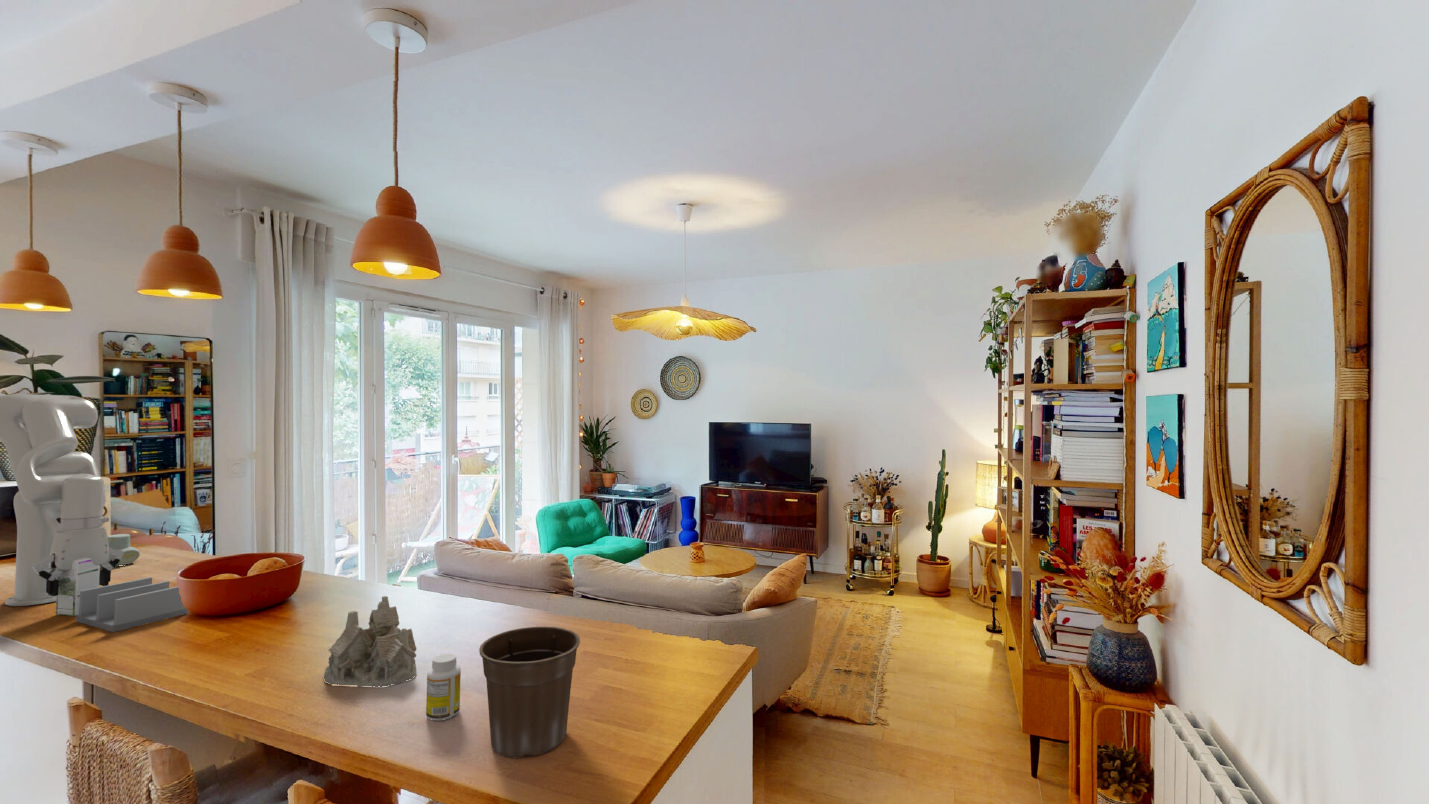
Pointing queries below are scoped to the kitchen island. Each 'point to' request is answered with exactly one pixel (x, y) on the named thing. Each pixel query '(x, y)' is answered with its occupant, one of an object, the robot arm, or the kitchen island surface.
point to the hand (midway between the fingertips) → (79, 590)
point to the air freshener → (123, 548)
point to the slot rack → (129, 604)
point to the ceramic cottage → (372, 651)
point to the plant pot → (529, 688)
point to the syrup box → (75, 585)
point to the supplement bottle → (443, 688)
